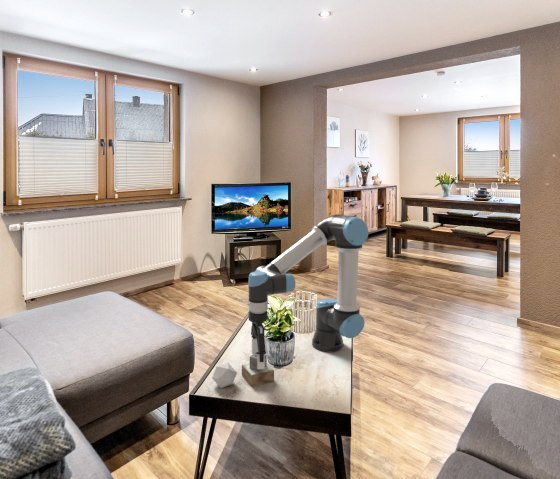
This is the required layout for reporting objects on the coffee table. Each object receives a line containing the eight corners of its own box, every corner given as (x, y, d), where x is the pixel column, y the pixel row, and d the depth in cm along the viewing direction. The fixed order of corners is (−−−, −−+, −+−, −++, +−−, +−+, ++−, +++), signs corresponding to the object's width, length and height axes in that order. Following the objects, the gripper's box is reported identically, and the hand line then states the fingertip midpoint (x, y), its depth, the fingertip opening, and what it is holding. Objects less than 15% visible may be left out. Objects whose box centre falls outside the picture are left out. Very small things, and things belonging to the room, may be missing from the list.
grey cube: (249, 368, 161) (249, 356, 160) (256, 363, 165) (256, 352, 164) (260, 371, 159) (260, 359, 158) (266, 366, 163) (266, 354, 162)
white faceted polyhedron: (230, 378, 164) (214, 360, 162) (244, 373, 159) (229, 355, 157) (220, 394, 157) (204, 376, 155) (234, 390, 152) (218, 372, 150)
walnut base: (263, 371, 170) (263, 359, 169) (274, 381, 161) (274, 369, 160) (241, 376, 165) (241, 364, 164) (251, 387, 156) (251, 375, 155)
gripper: (244, 301, 169) (244, 348, 173) (254, 322, 145) (254, 376, 149) (261, 300, 171) (261, 346, 174) (274, 321, 147) (273, 374, 150)
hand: (258, 360), depth 161 cm, fingers open, 13 cm apart
